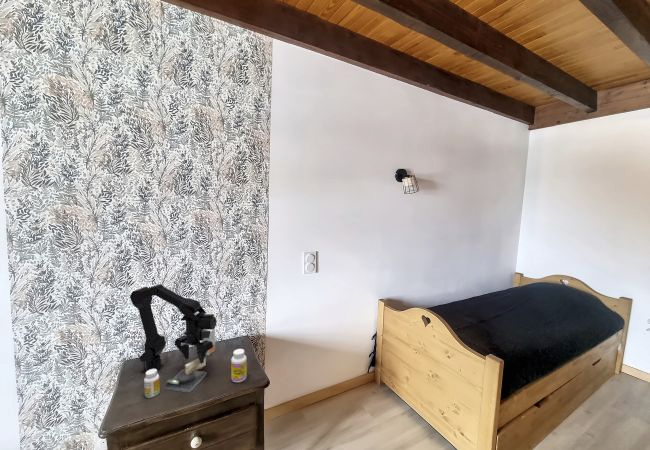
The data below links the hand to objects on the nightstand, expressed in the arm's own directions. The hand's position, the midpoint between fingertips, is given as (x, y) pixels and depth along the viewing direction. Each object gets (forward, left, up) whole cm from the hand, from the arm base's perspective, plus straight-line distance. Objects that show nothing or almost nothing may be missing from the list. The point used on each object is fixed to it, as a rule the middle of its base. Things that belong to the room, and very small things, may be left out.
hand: (194, 361), depth 130 cm
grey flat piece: (+1, -5, -5) cm, 7 cm away
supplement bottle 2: (+23, -1, -6) cm, 23 cm away
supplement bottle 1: (-8, -16, -6) cm, 19 cm away
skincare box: (-3, +17, -6) cm, 18 cm away
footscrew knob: (+2, -5, -4) cm, 6 cm away
